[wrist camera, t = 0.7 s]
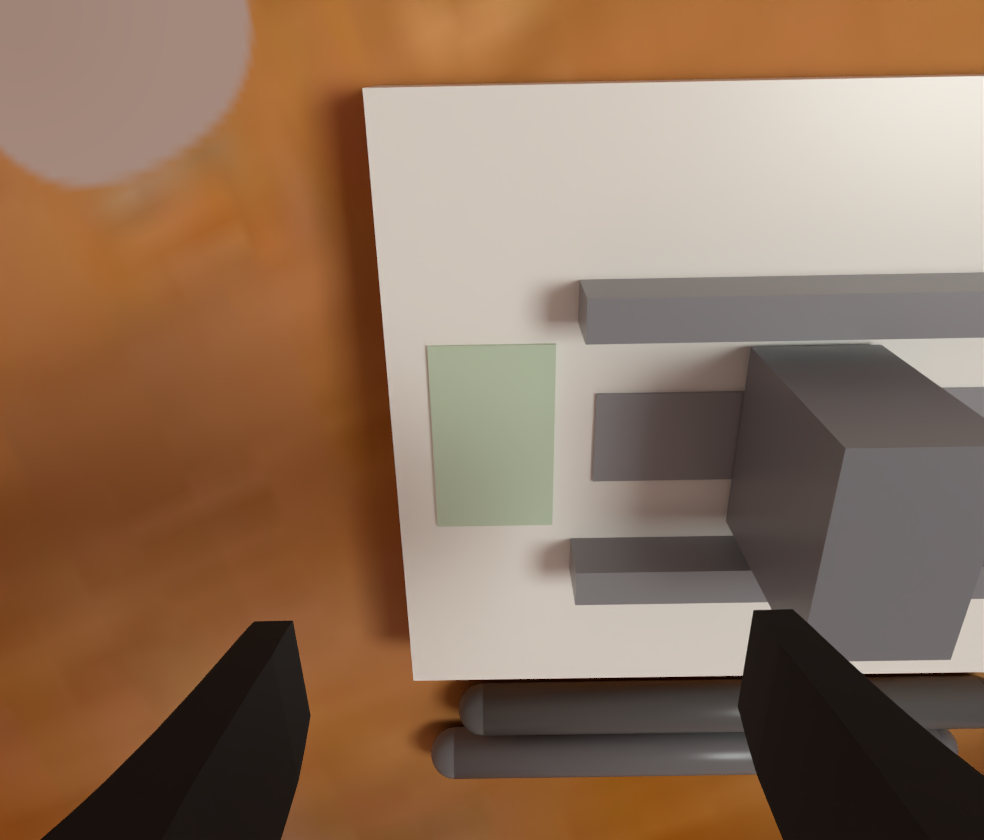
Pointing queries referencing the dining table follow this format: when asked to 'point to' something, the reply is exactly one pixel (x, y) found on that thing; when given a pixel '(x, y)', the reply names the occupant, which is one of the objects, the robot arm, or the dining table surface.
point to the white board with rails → (643, 380)
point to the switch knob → (860, 498)
